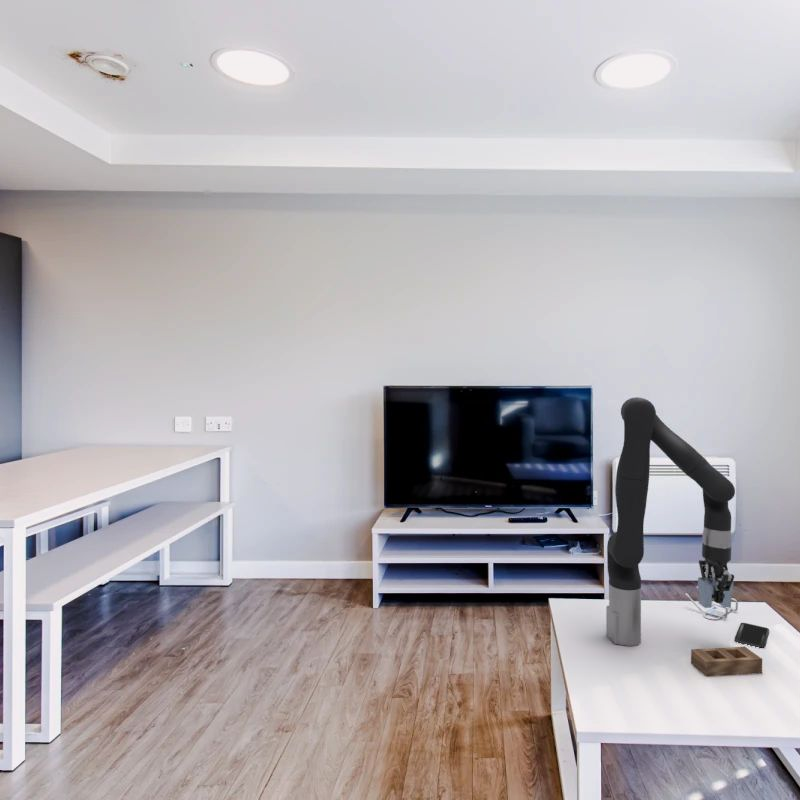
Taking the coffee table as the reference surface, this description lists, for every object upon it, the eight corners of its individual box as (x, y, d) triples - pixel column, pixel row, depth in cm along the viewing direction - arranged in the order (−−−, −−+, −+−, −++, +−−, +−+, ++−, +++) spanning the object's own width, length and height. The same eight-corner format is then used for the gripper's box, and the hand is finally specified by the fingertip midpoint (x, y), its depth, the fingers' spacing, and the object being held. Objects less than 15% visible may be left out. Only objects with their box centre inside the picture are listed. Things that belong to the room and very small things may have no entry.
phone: (734, 639, 172) (741, 621, 183) (733, 643, 172) (741, 625, 183) (764, 647, 167) (769, 628, 178) (764, 650, 167) (769, 631, 179)
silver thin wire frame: (723, 624, 184) (723, 607, 184) (681, 611, 194) (681, 595, 194) (741, 611, 194) (741, 594, 194) (700, 599, 204) (700, 583, 204)
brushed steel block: (703, 607, 166) (704, 581, 165) (697, 603, 169) (698, 577, 168) (732, 607, 166) (733, 580, 166) (725, 602, 169) (726, 576, 169)
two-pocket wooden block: (706, 676, 153) (706, 661, 153) (691, 663, 160) (691, 649, 160) (762, 673, 154) (762, 659, 154) (744, 660, 161) (745, 646, 161)
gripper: (690, 536, 173) (689, 591, 174) (719, 550, 159) (717, 610, 160) (714, 535, 174) (712, 590, 175) (744, 550, 160) (742, 609, 161)
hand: (714, 599), depth 167 cm, fingers closed on brushed steel block, 3 cm apart
